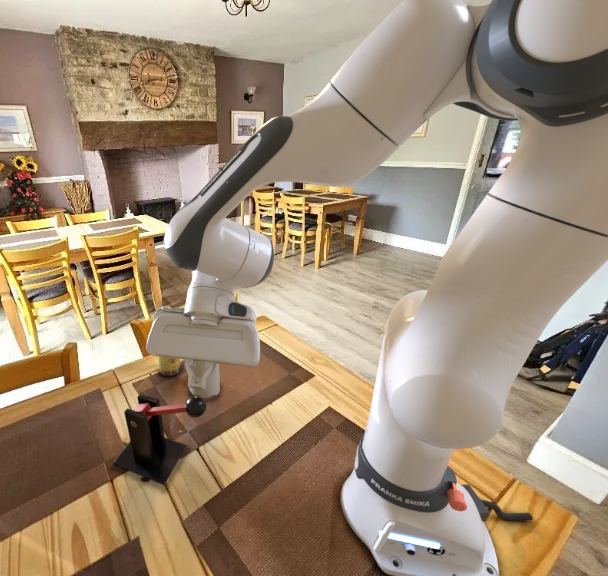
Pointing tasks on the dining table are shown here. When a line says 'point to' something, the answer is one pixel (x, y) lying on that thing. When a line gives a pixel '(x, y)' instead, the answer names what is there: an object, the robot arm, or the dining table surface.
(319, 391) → the dining table surface
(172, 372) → the sauce bottle
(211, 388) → the travel mug
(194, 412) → the lever
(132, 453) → the bracket
